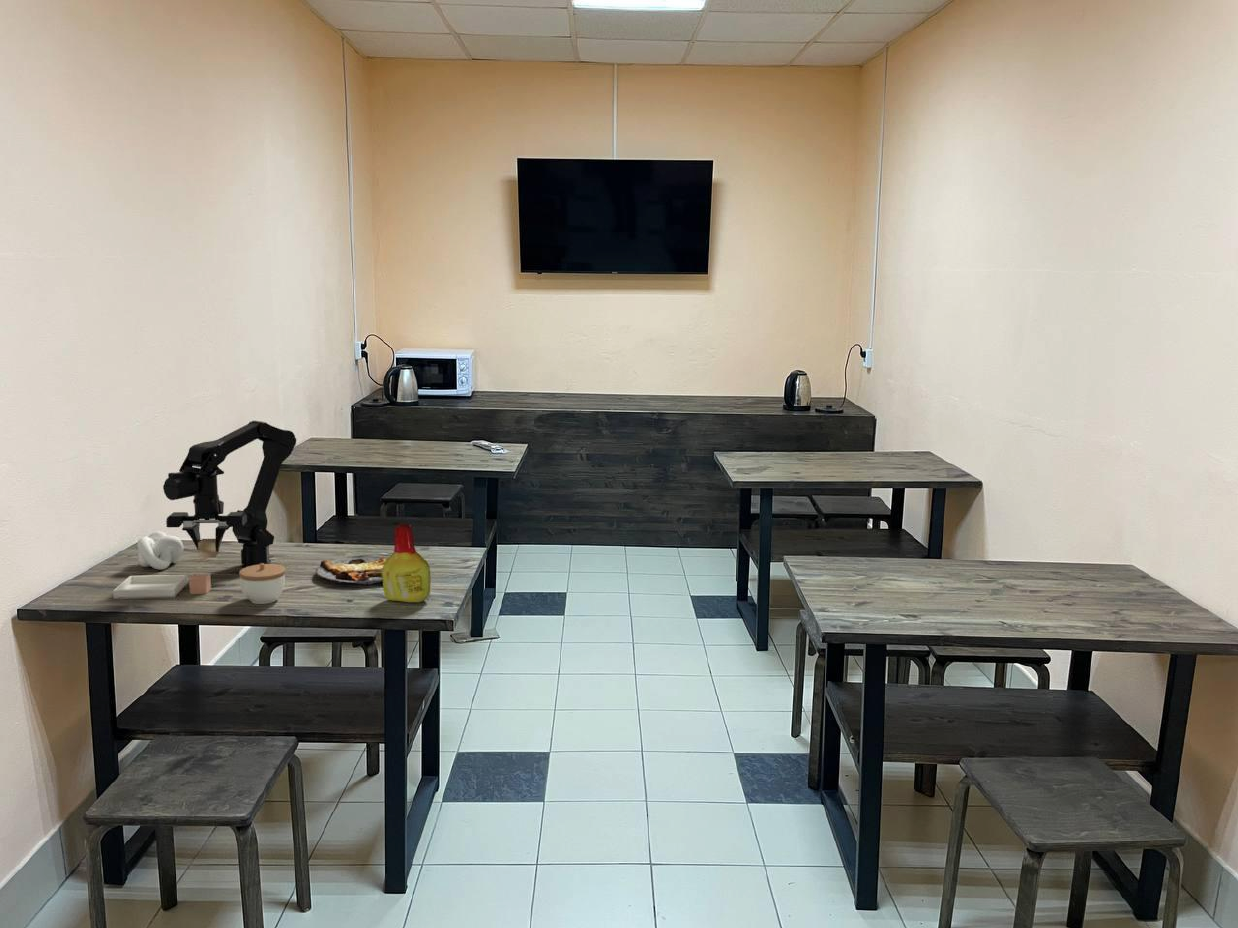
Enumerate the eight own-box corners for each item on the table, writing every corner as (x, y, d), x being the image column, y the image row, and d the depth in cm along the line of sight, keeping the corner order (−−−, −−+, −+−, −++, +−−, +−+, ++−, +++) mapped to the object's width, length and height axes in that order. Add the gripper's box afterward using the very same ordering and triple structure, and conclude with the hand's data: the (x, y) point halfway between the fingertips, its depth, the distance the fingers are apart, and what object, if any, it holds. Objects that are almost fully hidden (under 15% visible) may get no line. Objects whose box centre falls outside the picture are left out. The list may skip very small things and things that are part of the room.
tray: (187, 582, 251) (187, 574, 250) (173, 597, 239) (173, 589, 239) (130, 583, 249) (130, 575, 248) (113, 599, 237) (113, 590, 237)
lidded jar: (243, 609, 232) (241, 572, 231) (238, 596, 242) (236, 560, 240) (289, 603, 237) (288, 567, 235) (282, 590, 246) (281, 555, 245)
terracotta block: (211, 588, 247) (210, 573, 246) (206, 593, 243) (205, 578, 242) (194, 589, 246) (193, 574, 246) (189, 594, 242) (189, 578, 242)
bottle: (379, 603, 239) (377, 525, 235) (388, 595, 245) (386, 519, 242) (425, 606, 238) (424, 528, 234) (433, 598, 244) (432, 521, 240)
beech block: (218, 553, 255) (218, 538, 254) (215, 557, 251) (214, 542, 251) (203, 553, 255) (202, 538, 254) (198, 557, 251) (198, 542, 250)
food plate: (321, 591, 247) (321, 578, 246) (310, 567, 267) (310, 555, 267) (418, 584, 257) (418, 571, 256) (400, 561, 278) (401, 549, 277)
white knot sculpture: (169, 574, 258) (167, 541, 256) (124, 572, 258) (122, 540, 256) (188, 561, 269) (186, 530, 267) (146, 560, 269) (144, 529, 268)
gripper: (250, 486, 259) (252, 542, 262) (177, 486, 256) (180, 543, 259) (240, 495, 248) (243, 554, 251) (164, 496, 245) (167, 555, 248)
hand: (208, 551), depth 253 cm, fingers closed on beech block, 4 cm apart
